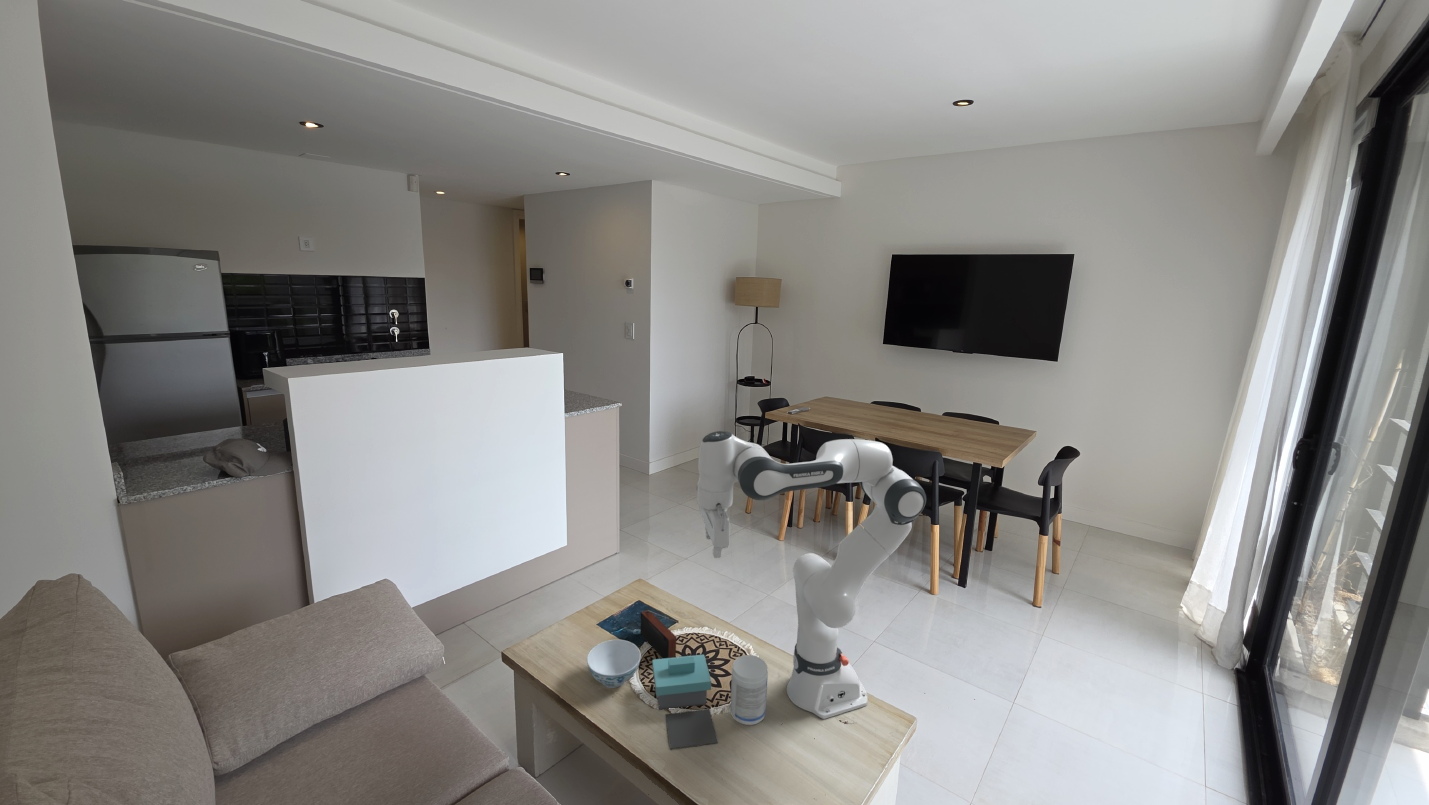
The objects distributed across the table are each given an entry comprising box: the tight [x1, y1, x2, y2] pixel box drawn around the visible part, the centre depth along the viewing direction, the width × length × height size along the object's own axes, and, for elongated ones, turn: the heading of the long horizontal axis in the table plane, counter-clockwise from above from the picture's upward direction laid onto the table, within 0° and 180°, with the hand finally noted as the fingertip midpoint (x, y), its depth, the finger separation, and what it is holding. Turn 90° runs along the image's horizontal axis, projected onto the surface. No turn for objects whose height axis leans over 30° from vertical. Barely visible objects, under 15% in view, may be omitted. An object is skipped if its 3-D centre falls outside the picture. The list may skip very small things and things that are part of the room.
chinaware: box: [586, 639, 642, 689], centre depth 163 cm, size 15×15×8 cm
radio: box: [640, 609, 679, 659], centre depth 175 cm, size 19×3×15 cm, turn 37°
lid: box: [651, 654, 712, 697], centre depth 157 cm, size 15×11×6 cm
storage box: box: [656, 690, 708, 711], centre depth 158 cm, size 13×9×7 cm
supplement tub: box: [729, 654, 769, 726], centre depth 152 cm, size 10×10×15 cm
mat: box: [665, 708, 719, 750], centre depth 147 cm, size 12×11×1 cm
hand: (712, 547), depth 143 cm, fingers open, 8 cm apart
